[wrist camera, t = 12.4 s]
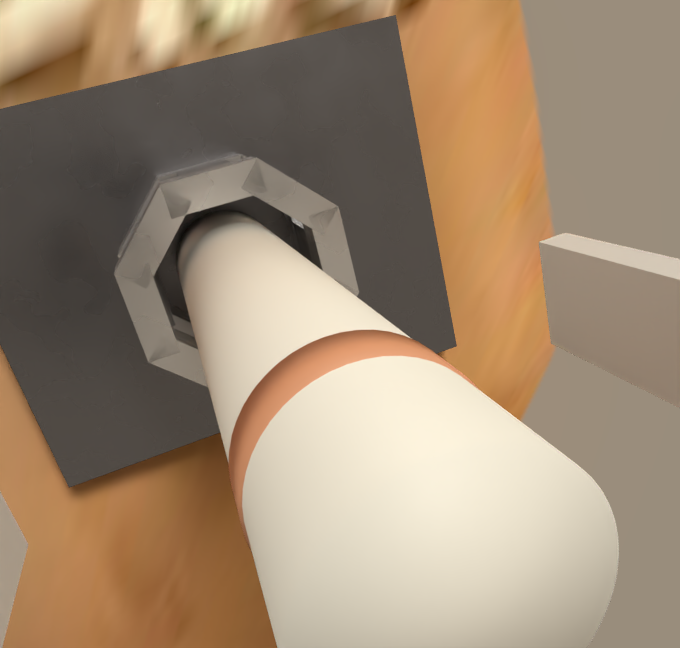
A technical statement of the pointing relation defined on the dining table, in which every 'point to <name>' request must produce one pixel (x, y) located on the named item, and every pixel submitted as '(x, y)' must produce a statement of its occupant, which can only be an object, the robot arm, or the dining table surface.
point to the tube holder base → (186, 207)
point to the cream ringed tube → (382, 469)
